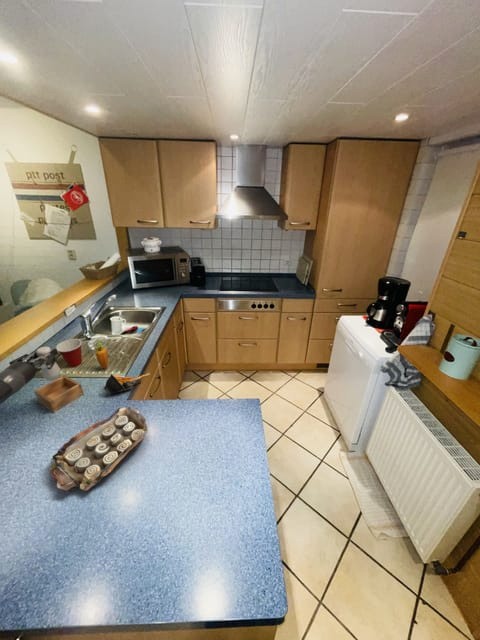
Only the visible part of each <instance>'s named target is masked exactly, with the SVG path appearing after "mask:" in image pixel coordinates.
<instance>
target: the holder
mask: <svg viewBox="0 0 480 640" xmlns="http://www.w3.org/2000/svg"><path fill="white" fill-rule="evenodd" d="M33 393H34V395H35V397H36V400H37V402H38V403H39V404H41V405H43V406H44V407H45V408H47V409H48V410H50V411H52V412H53V413H56V412H57V411H59V410H60V409H62V408H64V407H66V406H68V405H69V404H70V403H72V402H74V401H76V400H77V399H78V398H80V397H82V396H84V395H85V393H84V390H83V387H82V384H81V383H79V381H76V380H74V379H72V378H70V377H69V376H67V375H62V376H59V377H58V379H55V380H53V381H50V382H49V383H47V384H44V385H43V386H41V387H39V388H38V389H35V390H34V391H33Z"/></svg>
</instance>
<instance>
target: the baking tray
mask: <svg viewBox="0 0 480 640" xmlns="http://www.w3.org/2000/svg"><path fill="white" fill-rule="evenodd" d="M148 431H149V429H148V426H147V422H146V418H145V417H144V415H143V414H142V413H141V412H140V410H138V409H137V408H132V407H131V406H129V407H119V408H117V410H115V411H114V413H112V414H111V415H110V416H109V417H107V418H104V419H103V420H101V421H98V422H96V423H94V424H92V425H90V426H89V427H87V428H86V429H84V430H82V431H81V432H79V433H77V434H75V436H72V438H70V439H69V441H67V442H65V443H64V444H63V445H62V446H61V447H60V448H59V449H58V450H57V452H56V453H55V454H54V455H52V458H51V459H50V466H49V468H50V474H51V477H53V478H54V479H55V480H57V483H56V487H57V488H58V489H61V490H64V491H66V492H67V491H68V490H70V489H72V488H74V487H77V488H79V489H80V490H82V491H85V492H87V491H88V490H90V489H92V487H94V486H96V485H97V484H98V483H100V481H102V480H103V478H104V477H105V476H108V474H109V473H112V471H113V470H114V468H115V467H116V466H117V465H118V464H119V463H120V462H121V460H122V459H124V458H125V456H127V455H128V453H129V452H130V451H131V450H133V449H134V448H135V447H136V446H137V445H138V444H139V442H141V441H142V440H143V438H144V437H145V436H146V434H147V433H148Z"/></svg>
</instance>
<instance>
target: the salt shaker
mask: <svg viewBox="0 0 480 640" xmlns="http://www.w3.org/2000/svg"><path fill="white" fill-rule="evenodd" d="M50 351H52V349H51V347H49V346H42V347H39V348H37V349H36V351H35V352H36V354H37V356H39V357H40V356H44V355H46V354H48V353H49V352H50ZM47 359H48V358H46V360H47ZM40 372H41V376H42V378H43V379H44V380H46V381H47V382H53V381H55V380H57V379H58V378H60V377H61V372H62V369H61V368H60V367H59V365H58V363H57V361H56V362H55V364H54V365H53V367H52V368H51V369H49V370H48V369H47V368H42V369H41V370H40Z"/></svg>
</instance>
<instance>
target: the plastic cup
mask: <svg viewBox="0 0 480 640" xmlns="http://www.w3.org/2000/svg"><path fill="white" fill-rule="evenodd" d="M82 343H83V342H82V340H81V339H79V338H69V339H67V340H63V341H61V342H60V343H58V344H57V345H56V346H55V349H57V351H58V353H60V355H61V357H63V360H64V361H65V363H66V364H67V365H68V368H76V367H79V366H81V365H82V363H83V357H82Z"/></svg>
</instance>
